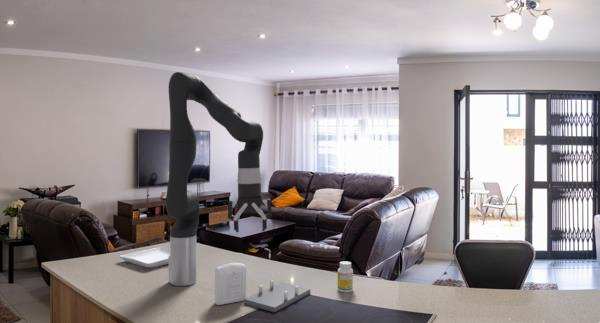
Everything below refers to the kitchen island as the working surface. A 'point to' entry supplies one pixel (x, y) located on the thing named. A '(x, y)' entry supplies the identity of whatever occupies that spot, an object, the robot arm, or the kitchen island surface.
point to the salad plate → (149, 257)
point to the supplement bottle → (345, 277)
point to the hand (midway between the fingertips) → (250, 231)
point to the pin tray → (276, 296)
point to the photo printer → (230, 283)
